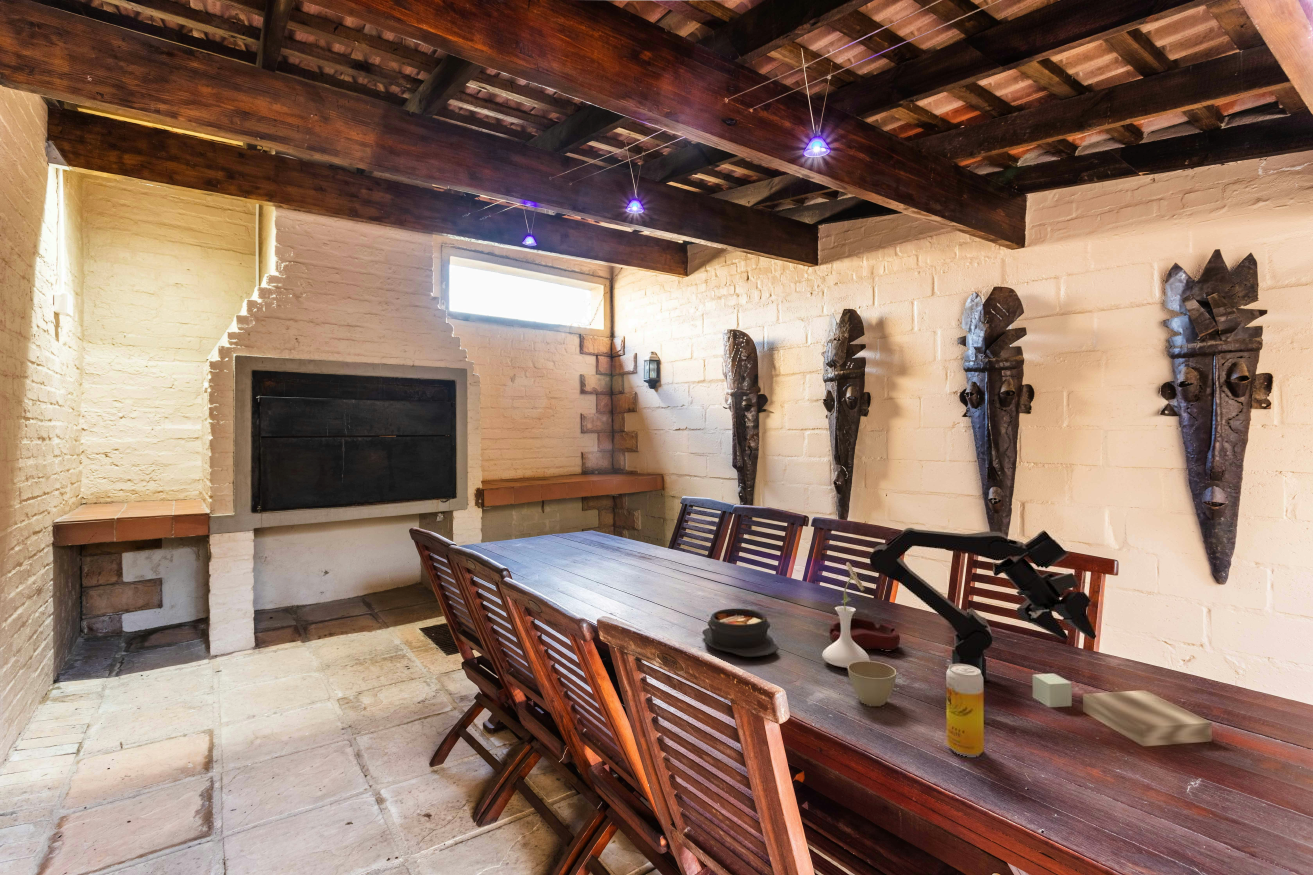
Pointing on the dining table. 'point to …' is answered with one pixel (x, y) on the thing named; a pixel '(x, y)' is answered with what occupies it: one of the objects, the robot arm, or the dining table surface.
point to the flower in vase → (845, 634)
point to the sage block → (1052, 690)
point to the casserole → (740, 632)
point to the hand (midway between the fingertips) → (1080, 638)
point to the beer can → (965, 710)
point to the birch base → (1147, 718)
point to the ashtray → (868, 634)
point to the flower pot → (872, 681)
